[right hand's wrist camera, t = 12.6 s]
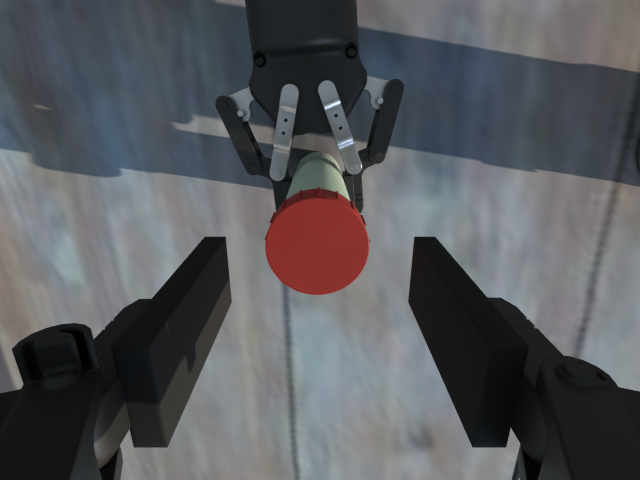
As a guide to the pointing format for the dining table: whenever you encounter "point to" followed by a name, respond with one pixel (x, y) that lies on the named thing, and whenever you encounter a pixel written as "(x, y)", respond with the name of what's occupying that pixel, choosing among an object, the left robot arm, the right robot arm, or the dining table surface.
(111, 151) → the dining table surface
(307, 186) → the bottle
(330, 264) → the lid
